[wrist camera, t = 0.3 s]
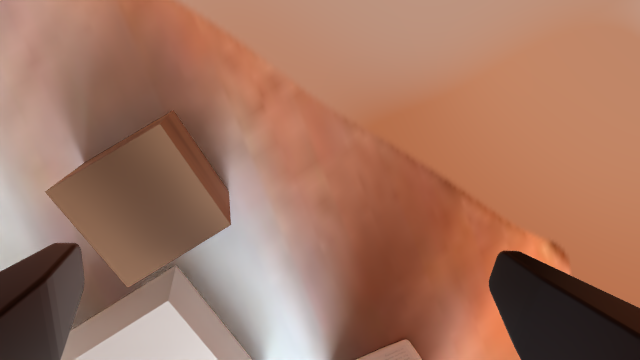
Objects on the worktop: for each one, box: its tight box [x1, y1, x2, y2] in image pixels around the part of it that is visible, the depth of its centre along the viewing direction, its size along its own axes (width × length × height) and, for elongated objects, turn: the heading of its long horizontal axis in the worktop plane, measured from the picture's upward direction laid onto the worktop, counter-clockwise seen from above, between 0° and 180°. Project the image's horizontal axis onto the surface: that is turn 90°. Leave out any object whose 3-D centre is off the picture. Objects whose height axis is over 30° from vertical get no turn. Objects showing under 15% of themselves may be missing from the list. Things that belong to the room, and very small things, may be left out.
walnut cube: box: [46, 111, 231, 288], centre depth 20 cm, size 5×5×5 cm
